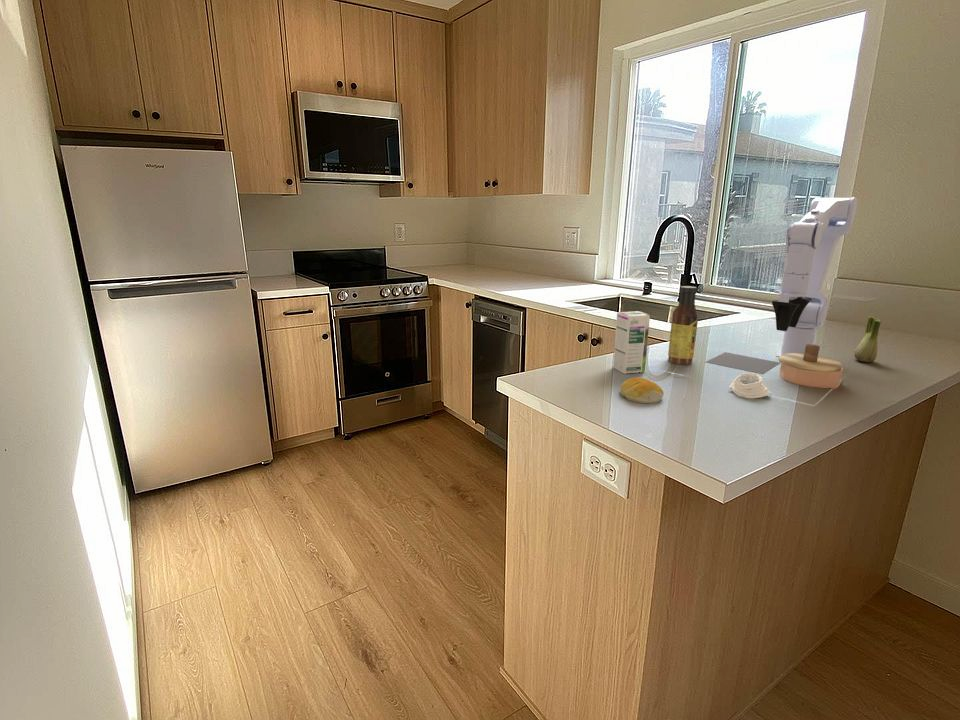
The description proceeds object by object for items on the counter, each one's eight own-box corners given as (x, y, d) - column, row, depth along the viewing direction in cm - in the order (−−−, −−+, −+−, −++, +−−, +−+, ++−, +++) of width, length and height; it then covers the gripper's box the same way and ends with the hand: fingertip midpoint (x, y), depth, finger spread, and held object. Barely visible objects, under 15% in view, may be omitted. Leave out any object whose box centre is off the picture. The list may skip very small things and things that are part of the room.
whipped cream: (772, 399, 114) (778, 378, 113) (761, 404, 110) (767, 382, 108) (735, 387, 120) (741, 367, 118) (723, 391, 115) (729, 370, 114)
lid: (787, 353, 132) (790, 336, 131) (846, 364, 123) (850, 346, 122) (771, 363, 123) (775, 345, 122) (834, 375, 115) (838, 356, 113)
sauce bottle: (694, 366, 134) (704, 289, 128) (668, 365, 135) (678, 288, 129) (690, 359, 140) (699, 285, 134) (665, 358, 141) (674, 284, 135)
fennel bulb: (873, 365, 137) (883, 320, 134) (850, 361, 140) (860, 317, 137) (876, 360, 141) (887, 317, 138) (854, 357, 144) (864, 314, 141)
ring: (788, 369, 132) (791, 354, 131) (844, 380, 124) (847, 364, 123) (773, 380, 124) (776, 364, 123) (832, 392, 116) (836, 375, 115)
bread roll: (646, 388, 117) (647, 372, 116) (668, 403, 109) (670, 384, 108) (612, 391, 116) (613, 374, 114) (632, 405, 107) (634, 387, 106)
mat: (725, 353, 146) (725, 352, 146) (780, 364, 137) (780, 362, 137) (704, 363, 137) (705, 361, 136) (762, 375, 127) (762, 373, 127)
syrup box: (624, 374, 127) (629, 315, 123) (612, 367, 132) (617, 310, 128) (645, 372, 128) (651, 314, 124) (632, 365, 134) (637, 310, 130)
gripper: (786, 270, 134) (777, 322, 138) (769, 273, 124) (759, 329, 128) (818, 273, 129) (807, 326, 133) (802, 276, 119) (791, 334, 123)
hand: (786, 328), depth 130 cm, fingers open, 7 cm apart
